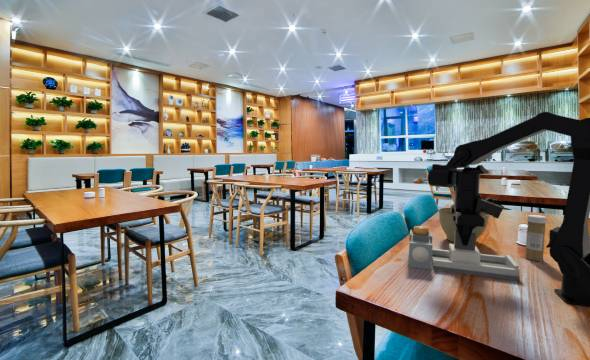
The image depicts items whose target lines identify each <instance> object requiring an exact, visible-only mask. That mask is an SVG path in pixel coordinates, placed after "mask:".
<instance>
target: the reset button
mask: <svg viewBox="0 0 590 360" xmlns="http://www.w3.org/2000/svg"><path fill="white" fill-rule="evenodd" d="M413 230H414V234H415V235H425V236H428V231H429V227H428V226H423V225H415V226H413Z"/></svg>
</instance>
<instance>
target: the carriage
mask: <svg viewBox="0 0 590 360" xmlns="http://www.w3.org/2000/svg"><path fill="white" fill-rule="evenodd" d="M475 241H476V242H477V240H476V232H475V231H472V234H471V236H470V239H469V242H468V245H467V246H464V245H463V244H462V241H461V239H460V236H459V233H458V230H457V229H455V234H454V242H453V243H449V244H448V250H449V260H450V261H454V262H463V263H471V264H480V256H481V254H482V253H481V252H480V250H479V248H478V247H477V245H476V242H475Z"/></svg>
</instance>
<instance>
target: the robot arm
mask: <svg viewBox="0 0 590 360" xmlns="http://www.w3.org/2000/svg"><path fill="white" fill-rule="evenodd" d="M546 131H550V132H554V133H557V134H561V135H565V136H568V137H570V146H571V147H570V148H571V152H572V157H573V162H572V164H573V165H572V168H571V169H572V171H571V176H570V181H569V185H568V192H567V197H566V203H565V208H564V214H563V220H562V222H561V225H560V226H556V227H554V228H552V229H549V234H548V235H549V237H548V238H549V240H548V244H547V245H546V246H545V248H546V249H547V248H548V249H549V250H548V251H549V256H550V258H552V259H553V260H554V261H555V262H556V263H557V265H558V268H559V271H560V273H561V275H562V276H561V287H560V288H554V291H553V292H555V293H556V295H558V297H560V298H561V299H562V300H563V302H565V303H568V304H572V305H581V306H586V307H590V232H589V231H590V230H589V227H588V226H589V224H588V223H589V218H590V117H585V118H582V119H576V118H571V117H569V116H568V117H567V116H563V115H559V114H557V113H553V112H549V111H542V112H538V113H537V114H536V115H535V116H533V117H531V118H529V119H528V118H527V120H524V121H522V122H519V123H518V124H515V125H513V126H510V127H508V128H506V129H504V130H502V131H500V132H498V133H495V134H493V135H491V136H489V137H486V138H483V139H478V140H474V141H473V140H472V141H469V142H467V143H462V144H460V145H457V147H456V148H455V149H454V152H453V153H454V154H453V156H451V158H450V159H449V161H448V162H447V163H446V164H441V163H433V164H432V166H431V168H430V170H429V172H428V174H427V181H428V184H429V186H430V187H439V188H448V189H451V188H453V187H454V185H455V191H454V193H453V194H454V203H453V204H452V205H451V206H450V208H451V214H453V213H454V212H455V213H456V216H452V218H453V220H454V223H455V226H456V229H457V230H458V233H459V236H460V239H461V241H462V244H463V245H464V246H467V245H468V242H469V239H470V236H471V234H472V231H473V229H474V228H476V227H477V226H478V227H484V224H485V219H484V218H483V217H482V216H481V215H480V214H481V212H483V213H486V214H489V216H491V217H493V218H495V219H499V217H500V215H501V214H502V212H503V210H504V207H502V206H501V205H499V204H496V201H495V199H493V198H491V197H487V198H485V199H482V195H481V194H480V181H481V180H480V179H481V175H485V174H486V175H487V174H489V173H490V171H489V170H488V169H487V168H485V166H483V164H480V163H482V162H484V161H486V160H487V159H489V158H490V157H491V156H493V155H494V154H495V153H497V152H498V151H499V150H504V149H505V148H507V147H511V146H512V145H515V144H517V143H520V142H522V141H526V140H527V139H530V138H532V137H535V136H537V135H540V134H541V133H544V132H546ZM475 165H477V166H476V167H471V166H475ZM458 169H462V170H458Z"/></svg>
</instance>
